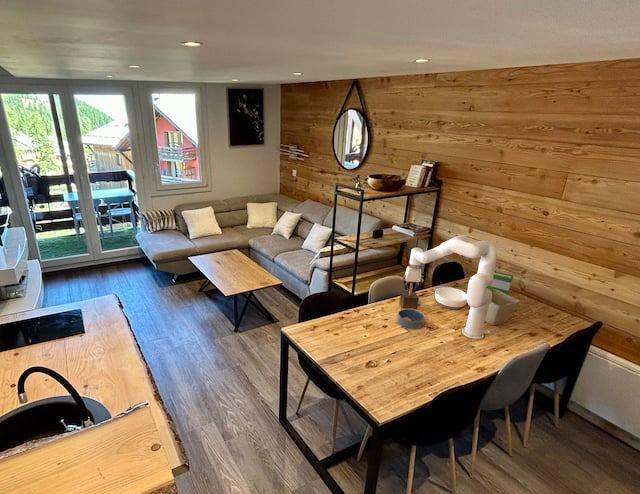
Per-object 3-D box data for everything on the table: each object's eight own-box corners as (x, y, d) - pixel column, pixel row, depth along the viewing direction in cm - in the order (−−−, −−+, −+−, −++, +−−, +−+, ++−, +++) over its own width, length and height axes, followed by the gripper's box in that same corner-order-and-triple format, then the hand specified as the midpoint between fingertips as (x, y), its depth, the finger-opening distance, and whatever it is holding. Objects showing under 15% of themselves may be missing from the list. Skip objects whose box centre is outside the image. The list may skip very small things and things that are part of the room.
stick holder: (413, 302, 281) (415, 291, 278) (416, 309, 272) (418, 298, 269) (399, 302, 282) (401, 291, 279) (402, 308, 273) (404, 297, 269)
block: (406, 322, 255) (406, 317, 253) (410, 325, 251) (411, 319, 250) (401, 323, 253) (402, 318, 252) (405, 326, 250) (406, 321, 248)
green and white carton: (476, 302, 284) (483, 272, 275) (478, 298, 290) (485, 269, 280) (503, 309, 275) (511, 278, 265) (505, 306, 280) (513, 275, 271)
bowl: (446, 294, 295) (448, 284, 292) (473, 307, 278) (475, 296, 274) (426, 301, 284) (428, 290, 281) (453, 314, 267) (455, 303, 264)
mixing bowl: (419, 317, 262) (420, 309, 260) (425, 330, 247) (427, 322, 245) (394, 316, 263) (395, 308, 260) (399, 329, 248) (401, 321, 246)
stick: (408, 305, 278) (412, 282, 271) (409, 306, 276) (413, 283, 269) (406, 305, 278) (410, 282, 271) (406, 306, 276) (410, 283, 269)
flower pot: (493, 329, 250) (500, 306, 243) (469, 315, 266) (474, 293, 259) (514, 323, 257) (520, 300, 251) (489, 310, 273) (495, 288, 267)
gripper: (426, 264, 268) (421, 287, 275) (400, 263, 269) (397, 286, 276) (429, 268, 261) (424, 292, 268) (403, 267, 262) (399, 291, 269)
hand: (410, 289), depth 272 cm, fingers open, 6 cm apart
